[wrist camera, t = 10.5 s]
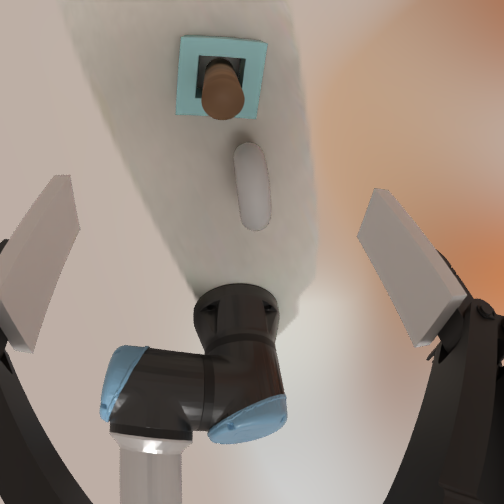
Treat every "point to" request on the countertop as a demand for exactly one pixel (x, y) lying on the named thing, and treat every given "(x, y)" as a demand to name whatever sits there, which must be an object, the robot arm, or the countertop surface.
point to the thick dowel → (221, 90)
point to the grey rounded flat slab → (252, 186)
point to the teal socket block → (223, 47)
